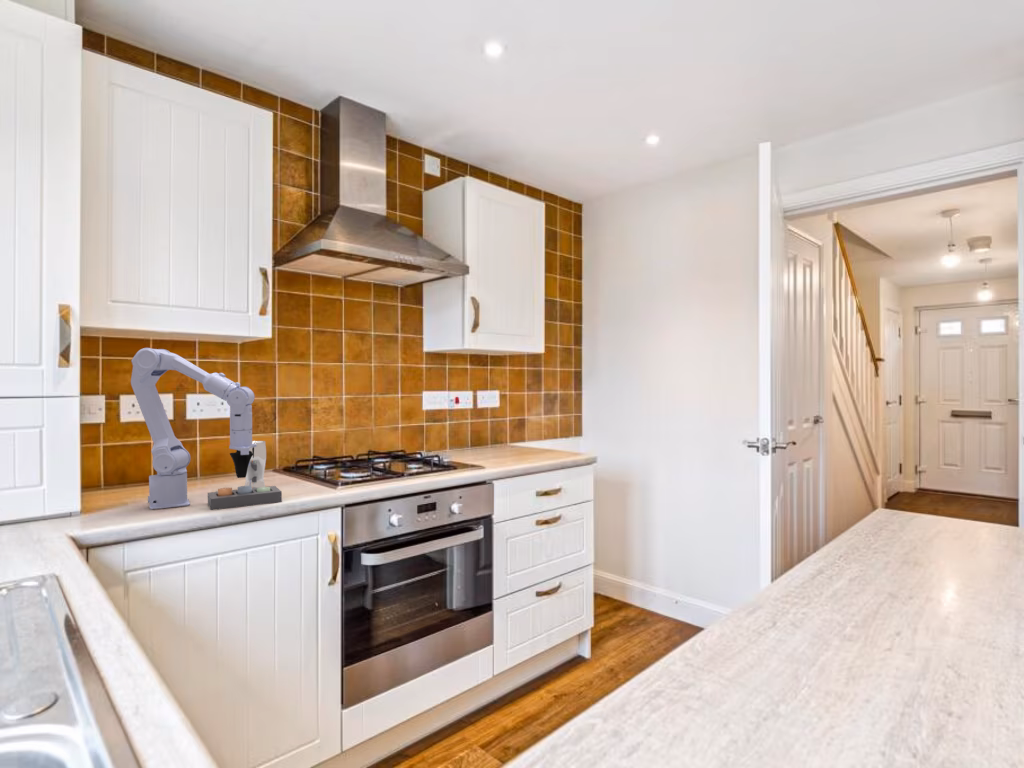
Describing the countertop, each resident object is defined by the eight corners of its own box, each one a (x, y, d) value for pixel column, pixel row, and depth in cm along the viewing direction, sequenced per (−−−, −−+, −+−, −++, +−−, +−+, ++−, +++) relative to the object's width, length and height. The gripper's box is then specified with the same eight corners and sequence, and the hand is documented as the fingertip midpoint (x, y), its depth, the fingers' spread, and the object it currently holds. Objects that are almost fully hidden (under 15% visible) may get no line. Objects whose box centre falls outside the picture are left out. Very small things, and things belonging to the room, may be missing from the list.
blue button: (238, 499, 163) (238, 488, 163) (237, 496, 166) (236, 486, 166) (252, 497, 165) (252, 487, 165) (250, 495, 168) (250, 485, 168)
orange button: (218, 501, 161) (218, 490, 161) (217, 499, 164) (217, 488, 164) (233, 499, 163) (232, 489, 163) (231, 497, 166) (231, 487, 166)
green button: (257, 500, 166) (257, 489, 166) (255, 498, 169) (255, 487, 169) (271, 498, 168) (271, 488, 168) (269, 496, 171) (269, 486, 171)
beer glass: (238, 489, 184) (237, 442, 184) (256, 486, 190) (256, 440, 190) (252, 491, 181) (252, 443, 181) (271, 487, 187) (270, 441, 187)
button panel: (210, 510, 157) (210, 499, 157) (207, 503, 165) (207, 492, 165) (281, 501, 166) (281, 491, 166) (275, 495, 175) (275, 485, 175)
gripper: (260, 431, 161) (260, 480, 161) (252, 426, 173) (252, 472, 174) (232, 432, 157) (232, 482, 158) (226, 428, 170) (226, 474, 170)
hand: (241, 477), depth 165 cm, fingers closed
